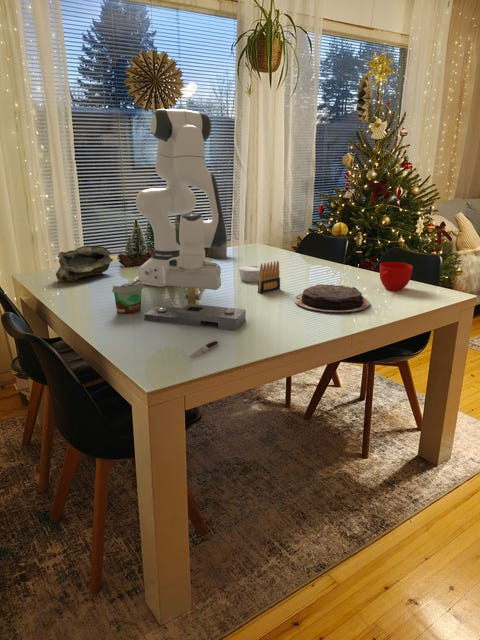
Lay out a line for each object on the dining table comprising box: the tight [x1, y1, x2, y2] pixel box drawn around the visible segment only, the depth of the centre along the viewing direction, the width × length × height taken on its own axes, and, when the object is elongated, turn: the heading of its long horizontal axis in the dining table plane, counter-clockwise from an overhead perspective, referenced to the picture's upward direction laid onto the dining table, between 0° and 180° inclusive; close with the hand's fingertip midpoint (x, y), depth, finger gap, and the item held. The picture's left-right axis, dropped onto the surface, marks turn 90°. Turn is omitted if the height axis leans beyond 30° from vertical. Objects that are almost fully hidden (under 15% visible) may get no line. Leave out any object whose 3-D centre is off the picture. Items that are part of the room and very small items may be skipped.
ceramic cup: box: [379, 261, 414, 292], centre depth 203 cm, size 13×17×10 cm
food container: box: [112, 279, 144, 315], centre depth 172 cm, size 12×6×10 cm, turn 148°
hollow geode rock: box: [55, 245, 113, 283], centre depth 219 cm, size 28×13×15 cm
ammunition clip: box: [257, 260, 281, 295], centre depth 199 cm, size 11×2×12 cm, turn 130°
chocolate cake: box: [293, 283, 371, 315], centre depth 185 cm, size 28×28×7 cm
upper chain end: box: [177, 303, 247, 332], centre depth 162 cm, size 20×10×5 cm, turn 72°
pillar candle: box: [208, 241, 228, 259], centre depth 263 cm, size 10×10×15 cm
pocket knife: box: [188, 340, 220, 359], centre depth 139 cm, size 14×1×2 cm, turn 146°
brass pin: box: [186, 287, 200, 305], centre depth 177 cm, size 3×3×8 cm
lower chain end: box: [143, 305, 208, 327], centre depth 166 cm, size 20×10×3 cm, turn 72°
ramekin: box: [238, 265, 261, 283], centre depth 218 cm, size 11×11×5 cm
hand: (193, 299), depth 177 cm, fingers closed on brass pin, 3 cm apart
